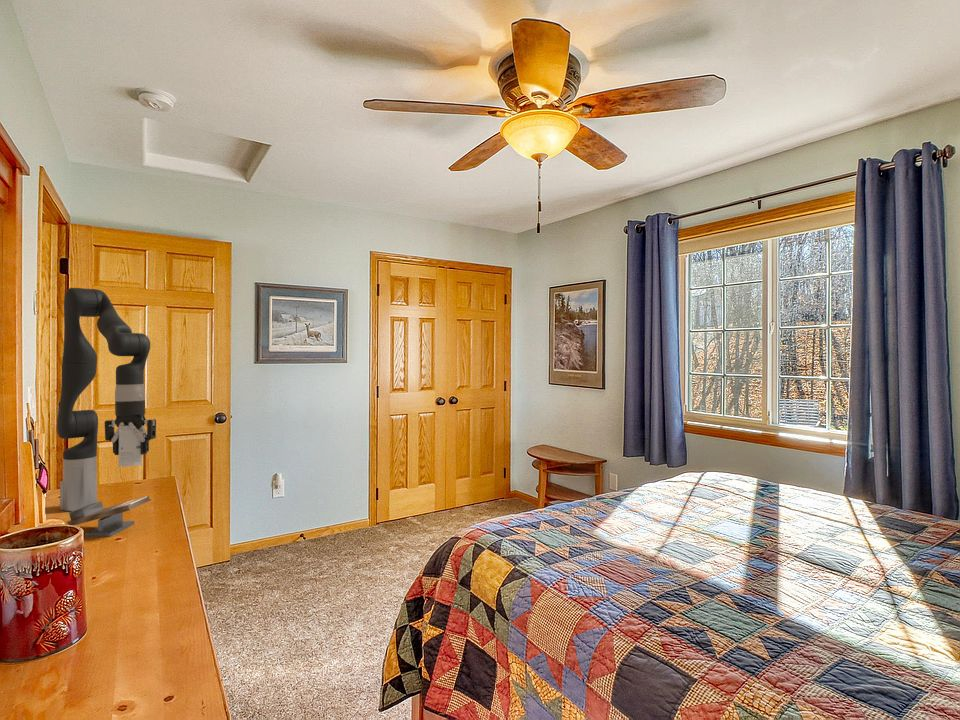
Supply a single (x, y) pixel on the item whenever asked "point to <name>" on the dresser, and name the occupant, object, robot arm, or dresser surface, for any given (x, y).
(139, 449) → the skincare box
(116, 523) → the fulcrum
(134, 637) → the dresser surface
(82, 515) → the seesaw beam
